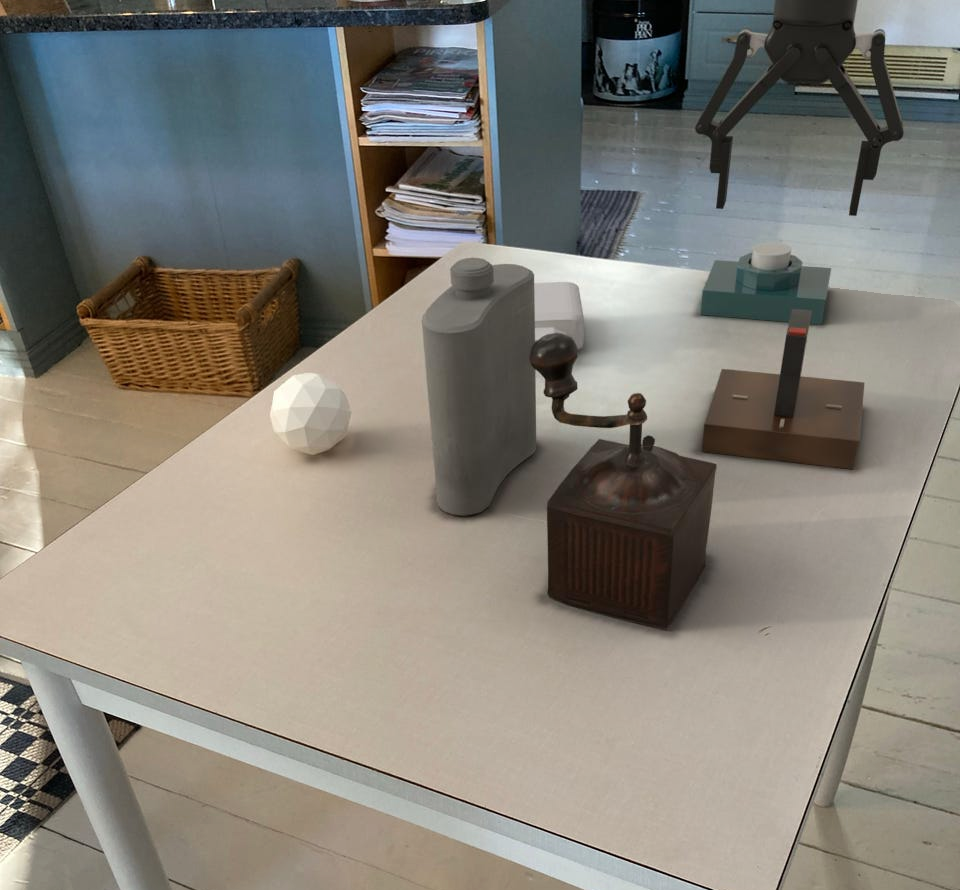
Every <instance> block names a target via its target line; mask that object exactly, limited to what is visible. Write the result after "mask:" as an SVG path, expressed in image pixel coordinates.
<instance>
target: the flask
mask: <svg viewBox="0 0 960 890" xmlns="http://www.w3.org/2000/svg"><path fill="white" fill-rule="evenodd" d="M449 270H450V283H451V286H450V287H449V288H447V289H446V290H445V291H444V292H442V293H441V294H440V295H439V296H438V297H437V298H436V299H435V300H434V301H433V302H432V303H431V304H430V305H429V307H428V308H427V309H426V310H425V312H424V313H423V314H422V316H421V317H422V318H421V328H422V329H421V330H422V341H423V354H424V365H425V376H426V387H427V388H426V389H427V399H428V412H429V422H430V433H431V434H430V435H431V446H432V456H433V457H432V458H433V469H434V479H435V491H436V493H435V494H436V501H437V502H436V503H437V505H438V507H439V508H440V509H441V510H442V511H444V512H445V513H447V514H450V515H452V516H459V517H466V516H473V515H477V514H480V513H482V512H483V511H484V510H486V509H487V508H488V507H489V506H490V505H491V503H492V500H493V498H494V496H495V494H496V491H498V490H497V489H498V488H499V486H500V485H501V484H502V482H503V481H504V480H505V478H506V477H507V476H509V474H510V473H511V472H512V471H513V470H514V469H515V468H516V467H518V465H520V464H521V463H523V462H524V461H525V460H527V459H528V458H530V457H531V456H533V455H534V454H535V451H536V450H537V391H536V389H537V388H536V387H537V386H536V385H537V384H536V377H537V376H536V370H535V369H534V368H533V367H532V366H531V364H530V360H529V355H530V351H531V347H532V346H533V344H534V343H535V298H534V283H535V273H534V272H533V270H531V269H529V268H528V267H526V266H523V265H520V264H515V263H499V264H498V263H497V264H492V263H490V261H488V260H487V259H484V258H480V257H467V258H462V259H459V260H457V261H456V262H455V263H454V264H452V265H451V267H450V268H449Z"/></svg>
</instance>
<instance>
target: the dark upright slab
mask: <svg viewBox="0 0 960 890" xmlns="http://www.w3.org/2000/svg"><path fill="white" fill-rule="evenodd" d="M811 313H812V310H801V309H792V312H791V316H790V320H789V322H788V325H787V330H786V332H785V333H786V334H785V340H784V345H783V346H784V347H783V352H782V359H781V365H780V372H779V374H780V378H779V385H778V391H777V398H776V404H775V411H774V415H776V416H785V417H793V416H794V411H795V406H796V401H797V395H798V390H799V384H800V378H801V376H802V371H803V367H804V360H805V355H806V348H807V343H808V336H809V330H810V325H811V324H810V319H811Z"/></svg>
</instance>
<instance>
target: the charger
mask: <svg viewBox="0 0 960 890" xmlns="http://www.w3.org/2000/svg"><path fill="white" fill-rule="evenodd" d="M534 298H535V342H536V341H538V340H539V339H540V338H541V337H543V336H545V335H547V334H552V333H562V334H565V335H567V336H570V337H572V338H573V340H574V341H575V343H576V345H577V348H578V351H579V350H581V349H582V348H583V347H584V336H585V335H584V333H585V332H584V331H585V329H584V328H585V317H584V316H585V315H584V311H583V310H584V309H583V304H582V298H581V292H580V287H579V285H578V284H577V283H574V282H570V281H553V282H551V281H550V282H549V281H548V282H534Z"/></svg>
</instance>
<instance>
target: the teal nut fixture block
mask: <svg viewBox="0 0 960 890" xmlns="http://www.w3.org/2000/svg"><path fill="white" fill-rule="evenodd" d="M751 259H752V252H749V253H747V254H744V255H742V256H739V259H738V261H735V260H720V259H715V260H713V263H712V266H711V268H710V271H709V274H708V275H707V279H706V281H705V283H704V286H703V289H702V291H701V292H702V293H701V302H700V313H699V314H700V315H701V316H710V317H721V318H722V317H723V318H734V319H748V320H749V319H750V320H757V321H758V320H759V321H773V322H782V323H783V322H784V323H789V320H790V316H791V312H792V309H801V310H812V313H811V319H810V325H823V318H824V314H825V313H824V312H825V308H826V301H827V296H828V290H829V284H830V278H831V272H832V267H823V266H807V265H803V261H802V260H801V259H800V258H798V257H797V256H796V255H795V254H794V255H793V254H791V256H790V262H789V267H788V268H786V269H780V270H762V269H759V268H755V267H752V266H751Z"/></svg>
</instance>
